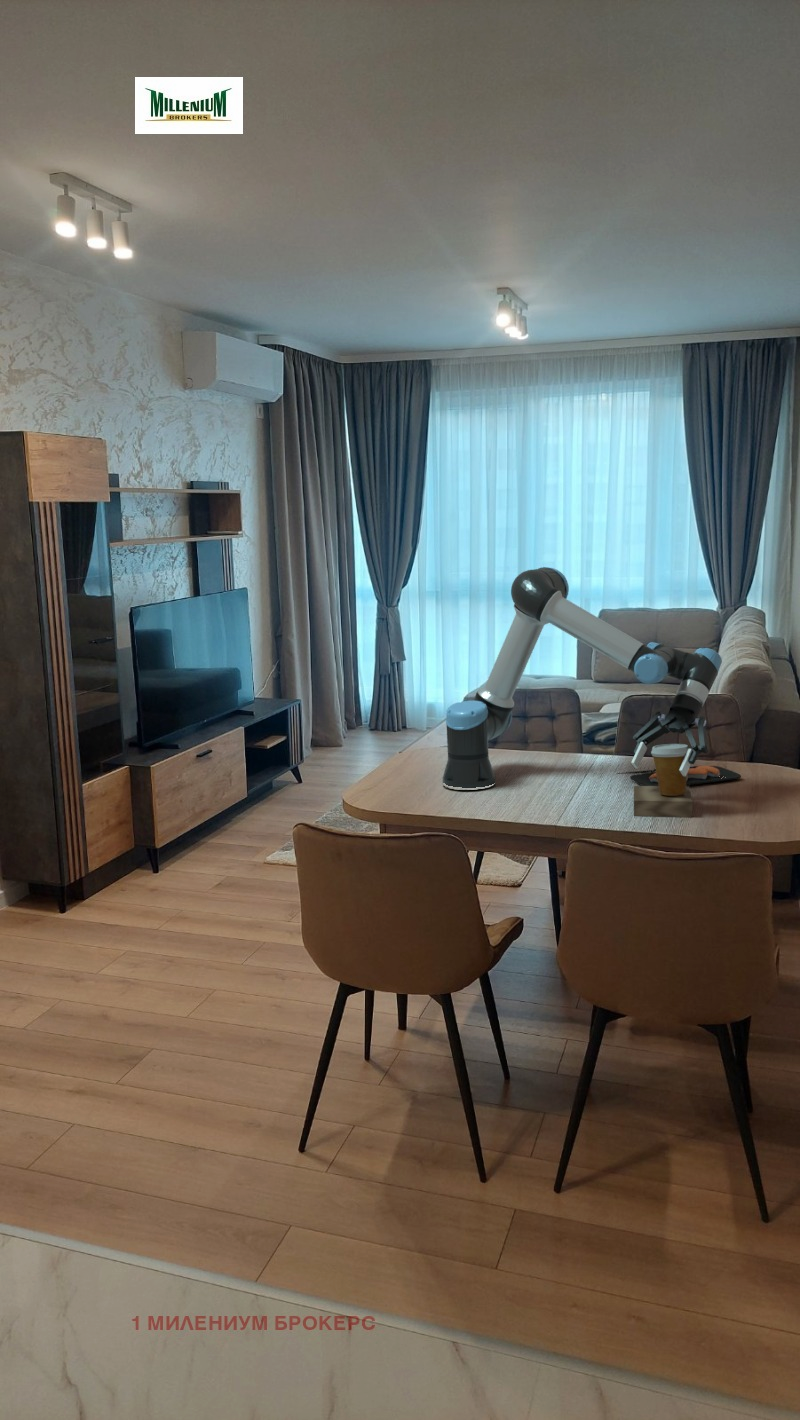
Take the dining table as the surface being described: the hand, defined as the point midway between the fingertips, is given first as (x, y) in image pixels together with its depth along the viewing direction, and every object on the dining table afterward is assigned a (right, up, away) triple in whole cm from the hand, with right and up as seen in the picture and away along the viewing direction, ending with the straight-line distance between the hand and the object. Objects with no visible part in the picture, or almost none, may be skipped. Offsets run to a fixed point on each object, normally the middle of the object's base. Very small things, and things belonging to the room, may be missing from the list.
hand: (657, 769), depth 249 cm
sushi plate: (+13, -4, +36) cm, 39 cm away
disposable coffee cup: (+4, -6, +1) cm, 8 cm away
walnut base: (+2, -10, +3) cm, 11 cm away
